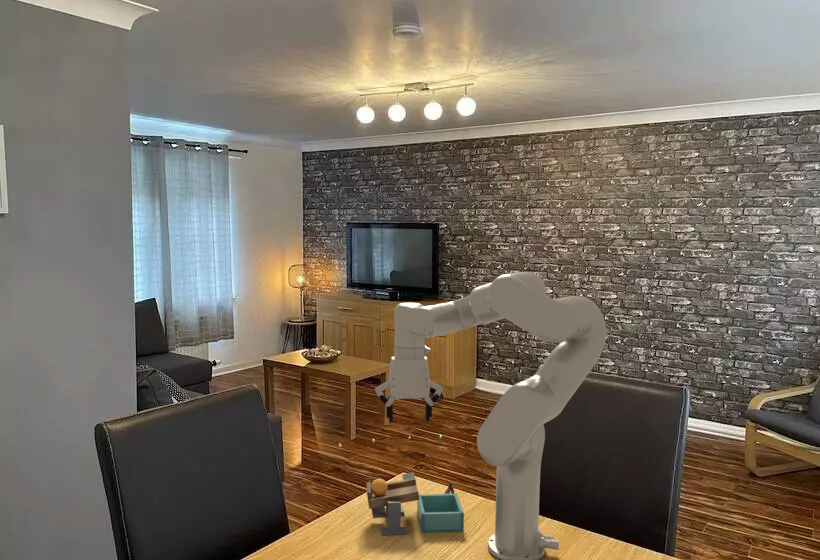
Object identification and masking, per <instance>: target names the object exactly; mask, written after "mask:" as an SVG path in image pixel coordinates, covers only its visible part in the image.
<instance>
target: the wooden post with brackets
mask: <svg viewBox="0 0 820 560" xmlns="http://www.w3.org/2000/svg"><path fill="white" fill-rule="evenodd" d="M454 483H455V482H454V481H452V480H451V481H450V482H449V483H448V487H447V488H446V489H445V491H444V493H443V494H456V493H455V490H454V485H455V484H454Z"/></svg>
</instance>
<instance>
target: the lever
mask: <svg viewBox="0 0 820 560" xmlns="http://www.w3.org/2000/svg"><path fill="white" fill-rule="evenodd" d="M386 483H387V486H388V489H387V492H386V493H385V494H384V495H382V496H376V495H374V494H373V492H372V490H371V485H372V481H368V482H366V496H367V503H368V509H369V510H371V514H372V519H379V518H384V517H387V516H386V514H385V508H386V506H388V501H401V504H404V503H410V502H417V500H419V495H420V493H419V490H418V485H417V481H416V476H415V472H414V471H413V472H408V473H407V472H406V473H403V474H402V480H395V481H392V482H391V481H390V482H386Z"/></svg>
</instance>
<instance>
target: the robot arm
mask: <svg viewBox="0 0 820 560" xmlns="http://www.w3.org/2000/svg"><path fill="white" fill-rule="evenodd" d="M504 319H505V320H507V321H509V322H511V323H512V324H514V325H515V326H517V327H518V328H520V329H522V330H524V331H525V332H527V333H529V334H530V335H532V336H534V337H536V338H537V339H540V340H542V341H544V342H547V343H550V344H558V345H556V346H555V348H554V349H553V350H552V351H551V352H550V354H549V355H548V356H547V357H546V359H545V361H544V362H543V364H541V366H540V368H539V369H538V370H537V372H535V374H534V375H532V376H531V377H529V378H527V379H524V380H522V381H519V382H517V383H515V384H513V385H512V386H510V387H509V388H508V389H507V390H506V391H505V392H504V393H503V394H502V396H500V398H499V400H498V401H497V403H496V404H495V405H494V407H493V409H492V410H491V411H490V413H489V415H488V416H487V417H486V419H485V420H484V421H483V423H482V425H481V426H480V429H479V430H478V433H477V437H476V445H477V450H478V452H479V455H480V456H481V458H482V459H483V461H485V462H486V463H487V464H489V465H491V466H496V479H495V481H496V483H495V525H494V526H495V528H494V529H495V530H494V533H493V534H491V536H490V537H489V538H488V540H487V549H488V551H489V552H490V553H491V554H492V555H493V556H494V557H496V558H497V559H500V560H540V559H542V558H543V556H545V554H546V549H550V550H556V551H559V547H560V542H559V540H557V539H554V538H555V536H554V535H551V534H544V533H543V532H541V526H539V523H540V522H539V519H540V518H539V517H540V490H541V489H540V485H541V468H542V465H541V464H542V457H543V451H544V446H545V441H546V431H545V430H546V429H545V426H544V424H546V423H548V422H550V421H552V420H553V419H555V418H557V417H558V416H559V415H560V414H561V412H562V411H563V410H564V408H565V407H566V405H567V404H568V402H569V401H570V400H571V398H572V397H573V396H574V394H575V393H576V391H577V390H578V389H579V388H580V386H581V385H582V383H583V382H584V380H585V379H586V377H587V376H588V375H589V373H590V372H591V371H592V369H593V368H594V366H595V364H596V363H598V360H599V359H600V357H601V355H602V352H603V350H604V347H605V344H606V338H607V326H606V321H605V318H604V315H603V312H602V311H601V309H600V308H599V306H598V305H597V304H596V303H595V302H594V301H593V300H591V298H588V297H585V296H580V295H571V296H565V297H560V298H559V297H558V298H555V299H554V298H552V297H549V296H548V295H547V287H546V284H545V282H544V280H543V279H542V278H541V277H540V276H539V275H537V274H536V273H533V272H529V271H522V272H521V271H519V272H512V273H506V274H501V275H500V276H498V277H496V278H495V279H494V280H493V281H492V282H490V283H485V284H483V285H480V286H476V287H474V288H473V289H472V290H471V292H470V294H469V295H467V296H465V297H462V298H459V299H455V300H452V301H448V302H442V303H437V304H430V305H426V306H424V305H423V304H421V303H419V302H401V303H398V304H396V305H395V307H394V348H393V349H394V356H391V359H390V363H389V364H390V365H389V371H388V373H389V374H388V380H386V381H385V382H383V383H382V384H380V385H378V386H376V387H375V389H374V391H375V393H376V395H377V396H378V398H379V400H380V401H381V402H382V403H383V404H384V405H385V406H386V419H389V423H393V422H394V420H393V419H394V418H393V417H394V416H393V415H394V414H393V412H394V410H393V409H394V407H393V403H394V402H395V400H396V399H397V400H398V399H424V401H425V404H424V405H425V406H424V408H425V409H424V411H425V412H424V414H425V415H424V416H425V417H424V418H425V420H426V422H430V418H432V417H433V406H434V404H435V403H436V402H437V401H438V400H439V398H440V396H441V394H442V393H443V392H444V388H443V386H442V385H440V384H438V383H436V382H435V381H433V380H431V379H430V370H429V368H430V367H429V361H428V357H427V356H426V355H427V354H430V353H431V347H427V346H426V345H425V341H426V339H425V338H435V337H439V336H443V335H448V334H452V333H457V332H460V331H463V330H466V329H469V328H473V327H476V326H480V325H487V324H491V323H493V322H498V321H501V320H504ZM431 388H433V389H434V390H435V392H434V393H433V394H432V395H431V396H430V394H431V393H430V391H431ZM386 389H388V392H389V395H388V397H386V395H385V394H384V393H383V391H384V390H386Z"/></svg>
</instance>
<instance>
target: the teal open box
mask: <svg viewBox="0 0 820 560" xmlns="http://www.w3.org/2000/svg"><path fill="white" fill-rule="evenodd" d="M416 504H417V506H416V507H417V508H416V509H417V510H416V512H417V513H416V514H417V518H418V523H419V528H420V532H421V534H426V533H451V532H452V533H454V532H456V533H457V532H459V533H460V532H464V530H465V529H464V528H465V527H464V523H465V521H464V519H465V513H464V509H463V507H462V504H461V501H460V499H459V496H458V493H455V494H451V493H449V494H444V493H440V494H439V493H438V494H437V493H434V494H431V493H430V494H428V493H427V494H419V500H416Z"/></svg>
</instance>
